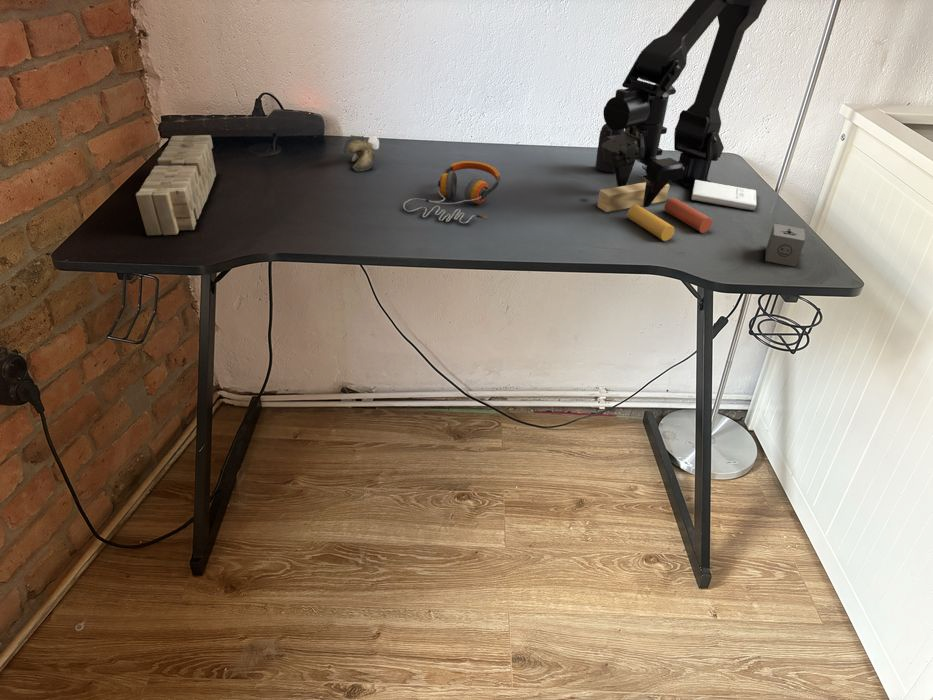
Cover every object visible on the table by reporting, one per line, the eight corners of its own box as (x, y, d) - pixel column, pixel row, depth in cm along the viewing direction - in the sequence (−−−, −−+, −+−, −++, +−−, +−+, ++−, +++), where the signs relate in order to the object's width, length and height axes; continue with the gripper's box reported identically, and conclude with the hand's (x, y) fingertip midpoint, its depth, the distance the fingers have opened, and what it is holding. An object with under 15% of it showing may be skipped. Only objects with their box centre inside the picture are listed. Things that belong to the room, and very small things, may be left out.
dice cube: (765, 260, 120) (773, 234, 117) (765, 249, 124) (774, 223, 121) (795, 266, 118) (805, 240, 116) (795, 254, 122) (804, 228, 119)
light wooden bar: (656, 195, 142) (660, 179, 140) (666, 201, 140) (669, 184, 138) (597, 206, 136) (599, 189, 134) (606, 212, 134) (608, 195, 132)
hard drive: (693, 186, 146) (753, 196, 144) (690, 200, 140) (754, 211, 137) (695, 178, 145) (756, 188, 143) (692, 193, 139) (756, 204, 136)
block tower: (193, 239, 120) (219, 172, 143) (183, 194, 115) (212, 132, 138) (146, 240, 119) (179, 172, 142) (134, 194, 114) (171, 132, 137)
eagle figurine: (341, 150, 153) (333, 157, 145) (358, 123, 151) (351, 128, 142) (370, 170, 155) (364, 178, 147) (387, 144, 152) (382, 150, 144)
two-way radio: (620, 170, 153) (632, 102, 144) (612, 176, 150) (624, 107, 141) (597, 165, 155) (608, 97, 146) (589, 171, 152) (600, 101, 143)
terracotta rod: (674, 210, 136) (678, 196, 134) (709, 231, 129) (713, 216, 127) (663, 213, 135) (666, 198, 133) (697, 234, 128) (701, 219, 126)
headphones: (395, 199, 129) (442, 145, 140) (399, 222, 132) (444, 167, 144) (477, 219, 123) (518, 161, 135) (478, 242, 127) (518, 184, 139)
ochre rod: (638, 217, 133) (641, 203, 131) (672, 239, 125) (676, 224, 124) (626, 220, 131) (628, 205, 130) (659, 242, 124) (662, 227, 122)
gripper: (584, 110, 132) (573, 187, 141) (645, 141, 119) (629, 224, 128) (630, 105, 136) (617, 180, 145) (694, 134, 123) (675, 214, 132)
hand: (633, 198), depth 137 cm, fingers open, 8 cm apart
